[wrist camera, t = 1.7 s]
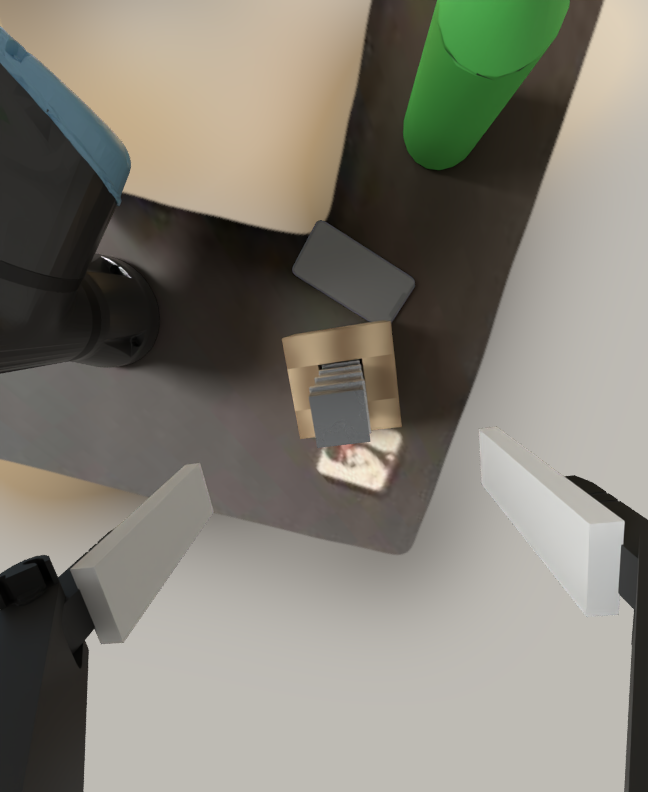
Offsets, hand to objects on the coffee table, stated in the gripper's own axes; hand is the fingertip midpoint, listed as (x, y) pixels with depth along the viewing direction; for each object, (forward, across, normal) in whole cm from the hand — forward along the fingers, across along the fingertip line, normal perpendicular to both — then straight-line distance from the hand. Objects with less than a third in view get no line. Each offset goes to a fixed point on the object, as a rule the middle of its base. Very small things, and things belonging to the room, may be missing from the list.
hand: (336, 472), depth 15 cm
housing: (+31, 0, 0) cm, 31 cm away
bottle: (+31, +15, +26) cm, 43 cm away
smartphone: (+31, +3, +12) cm, 34 cm away
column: (+31, 0, 0) cm, 31 cm away
